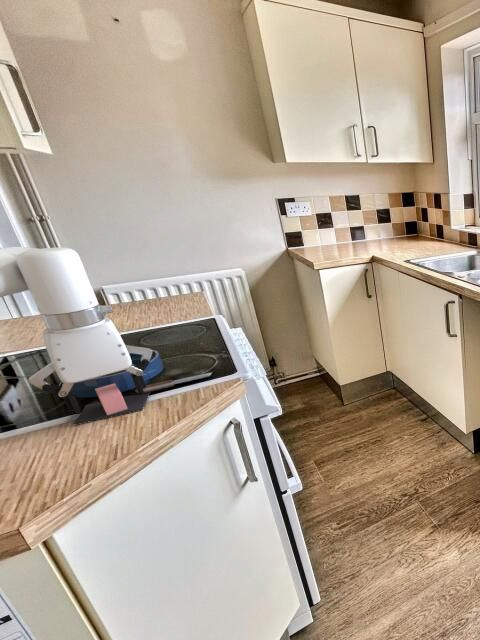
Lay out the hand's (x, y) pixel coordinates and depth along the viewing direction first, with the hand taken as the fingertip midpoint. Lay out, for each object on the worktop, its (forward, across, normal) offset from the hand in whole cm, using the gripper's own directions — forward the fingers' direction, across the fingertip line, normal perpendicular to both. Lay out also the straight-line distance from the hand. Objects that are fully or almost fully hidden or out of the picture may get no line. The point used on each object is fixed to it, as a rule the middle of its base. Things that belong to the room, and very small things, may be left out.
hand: (110, 401), depth 82 cm
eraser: (+1, 0, 0) cm, 1 cm away
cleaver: (+2, -11, -2) cm, 11 cm away
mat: (+2, 0, 0) cm, 2 cm away
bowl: (+2, -3, -14) cm, 15 cm away
